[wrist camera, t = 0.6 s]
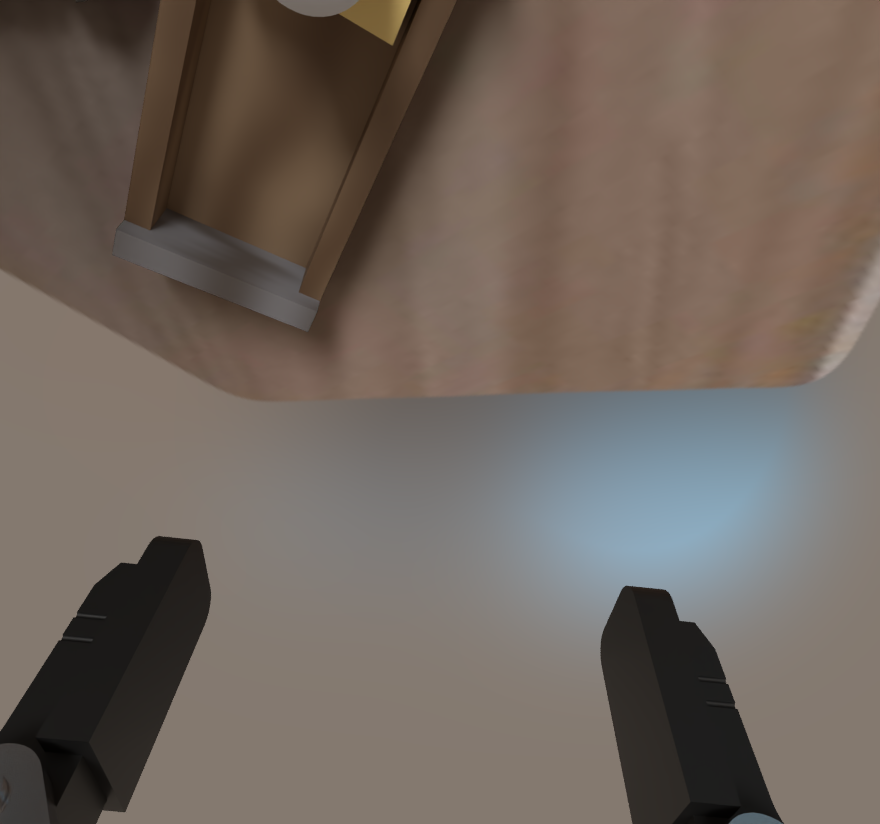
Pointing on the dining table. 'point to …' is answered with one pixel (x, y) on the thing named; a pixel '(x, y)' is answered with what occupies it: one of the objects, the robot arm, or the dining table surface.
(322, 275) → the wooden tray
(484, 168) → the dining table surface
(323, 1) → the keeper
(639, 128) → the dining table surface
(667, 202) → the dining table surface
